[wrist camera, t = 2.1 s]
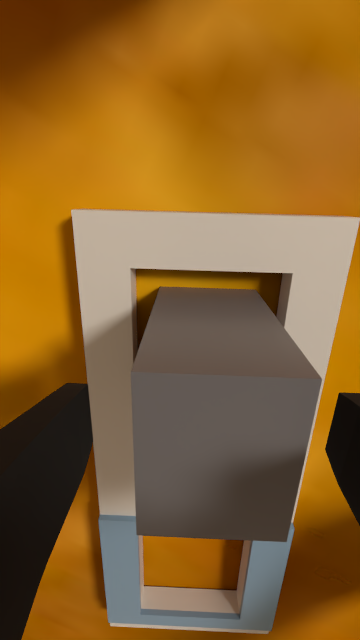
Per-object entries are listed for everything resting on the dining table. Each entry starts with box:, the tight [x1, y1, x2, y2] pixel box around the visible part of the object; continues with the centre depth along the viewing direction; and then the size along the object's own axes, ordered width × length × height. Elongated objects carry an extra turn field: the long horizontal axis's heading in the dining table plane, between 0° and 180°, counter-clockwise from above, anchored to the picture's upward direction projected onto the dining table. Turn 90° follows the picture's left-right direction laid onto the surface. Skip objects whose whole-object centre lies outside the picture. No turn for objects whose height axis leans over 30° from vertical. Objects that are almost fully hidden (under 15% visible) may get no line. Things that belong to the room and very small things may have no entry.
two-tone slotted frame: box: [71, 209, 360, 634], centre depth 16 cm, size 10×25×2 cm, turn 179°
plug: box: [131, 287, 322, 542], centre depth 11 cm, size 4×5×7 cm
